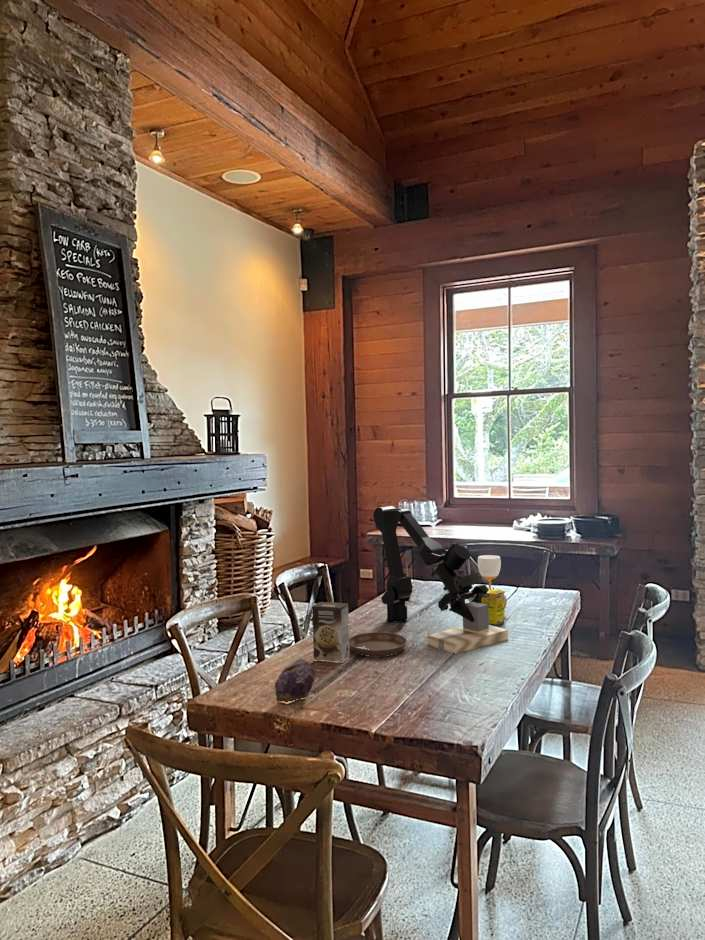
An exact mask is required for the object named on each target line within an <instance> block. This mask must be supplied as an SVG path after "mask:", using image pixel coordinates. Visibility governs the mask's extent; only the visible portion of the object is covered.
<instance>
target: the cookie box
mask: <svg viewBox="0 0 705 940" xmlns="http://www.w3.org/2000/svg"><path fill="white" fill-rule="evenodd" d="M311 608H312V610H311V611H312V644H313V660H314V659H315V660H329V661H339V662H343V661H344V660H345V659H346V658H348V657H349V656H350V645H349V639H350V633H349V631H350V630H349V626H350V625H349V603H345V602H330V601H329V602H328V601H326V602H325V601H319V602H318V603H315V604H313V605H311ZM348 659H349V658H348Z"/></svg>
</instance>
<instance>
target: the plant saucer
mask: <svg viewBox="0 0 705 940" xmlns="http://www.w3.org/2000/svg"><path fill="white" fill-rule="evenodd" d="M407 641H408V639H407V638H406V637H405V636H403V635H400V634H397V633H392V632H379V631H378V632H375V631H374V632H364V633H360V634H356V635H354V636H351V637H349V648H351V650H352V651H353V652H354V651H355V652H354V653H356V652H357V653H359V654H358V655H360V654H363V655H369V656H368V657H371V656H381V657H388V656H387V655H389V656H392V655H391V654H393V655H396V654H398V653H400V652H401V651H402V650H403V649H404V647H405V646H406V644H407ZM363 646H365V647H366V648H369V649H371V650H368V649H361V648H357V647H363ZM399 651H400V652H399ZM357 653H356V654H357ZM395 653H396V654H395ZM363 655H362V656H363Z"/></svg>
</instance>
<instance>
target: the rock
mask: <svg viewBox="0 0 705 940" xmlns="http://www.w3.org/2000/svg"><path fill="white" fill-rule="evenodd" d="M316 675H317V673H316V672H315V669H314V668H313V666H312V664H310V662H309V661H307V660H306V659H303V658H299V659H296V660H295V661H293V662H292V663H291V664H289V665H288V666H286V667H284V669H283V670H282V671H281V673H280V674H279V676H278V677H277V679H276V680H275V683H274V688H275V695H276V696H275V698H276V701H277V702H278V701H285V702H288V701H293V700H296V699H301V698H305V697H306V698H308V695H309V693H310V692H311V690H312V687H313V684H314V681H315V679H316Z"/></svg>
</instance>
